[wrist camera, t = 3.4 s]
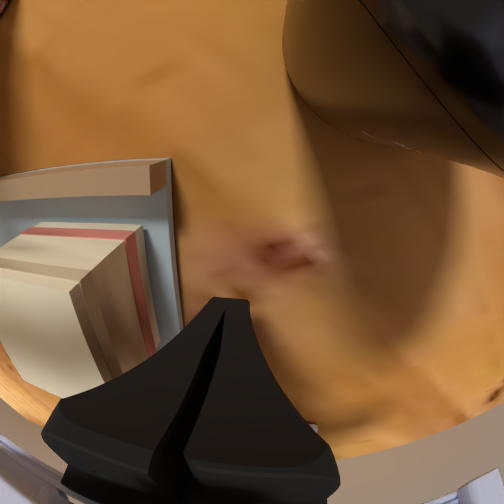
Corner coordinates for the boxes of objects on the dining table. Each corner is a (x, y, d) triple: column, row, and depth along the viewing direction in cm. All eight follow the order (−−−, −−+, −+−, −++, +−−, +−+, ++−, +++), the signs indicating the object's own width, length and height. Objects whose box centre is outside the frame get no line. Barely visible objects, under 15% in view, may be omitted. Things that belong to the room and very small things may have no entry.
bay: (188, 363, 15) (172, 413, 12) (-8, 310, 16) (-31, 333, 13) (170, 158, 10) (127, 173, 7) (-43, 187, 11) (-75, 202, 8)
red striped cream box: (161, 341, 13) (125, 421, 9) (68, 321, 13) (23, 380, 9) (143, 223, 11) (69, 290, 6) (40, 221, 11) (-32, 267, 6)
